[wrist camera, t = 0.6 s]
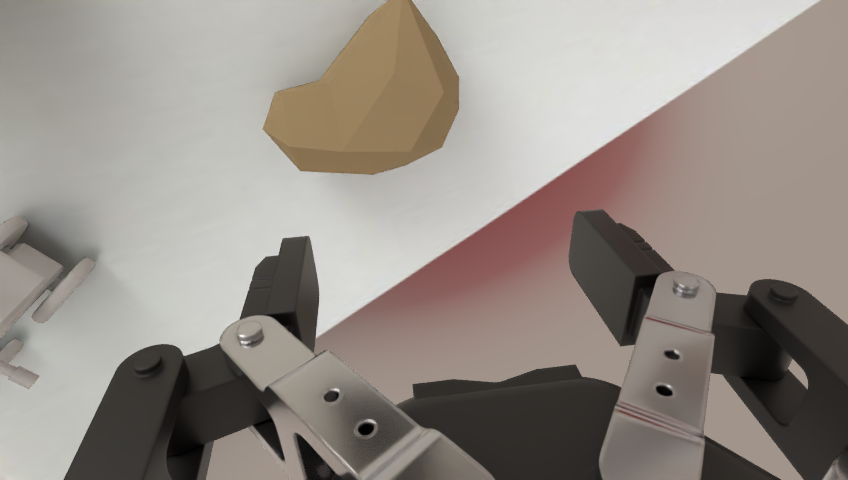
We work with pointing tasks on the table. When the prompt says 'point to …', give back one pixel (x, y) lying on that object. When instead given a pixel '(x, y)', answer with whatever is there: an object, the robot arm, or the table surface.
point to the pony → (29, 290)
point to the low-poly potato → (371, 100)
